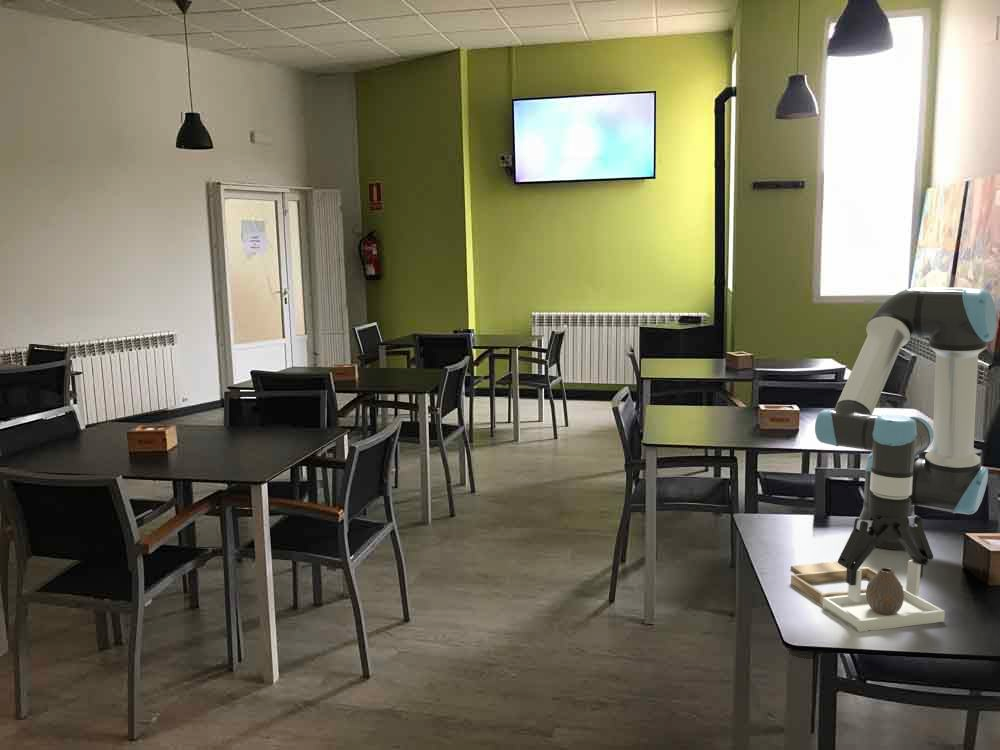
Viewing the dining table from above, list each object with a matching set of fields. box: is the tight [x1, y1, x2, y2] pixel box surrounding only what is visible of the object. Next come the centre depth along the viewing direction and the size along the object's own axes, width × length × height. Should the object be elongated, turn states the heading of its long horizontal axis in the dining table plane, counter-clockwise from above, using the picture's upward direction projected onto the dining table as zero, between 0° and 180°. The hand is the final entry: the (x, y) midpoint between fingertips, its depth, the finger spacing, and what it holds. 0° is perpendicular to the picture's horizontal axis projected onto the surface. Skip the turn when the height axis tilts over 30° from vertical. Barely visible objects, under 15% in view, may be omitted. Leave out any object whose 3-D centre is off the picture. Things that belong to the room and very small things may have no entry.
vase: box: [865, 567, 904, 615], centre depth 167 cm, size 7×7×9 cm
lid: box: [790, 561, 847, 574], centre depth 191 cm, size 14×6×1 cm, turn 104°
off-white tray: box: [822, 588, 946, 633], centre depth 168 cm, size 19×11×2 cm, turn 104°
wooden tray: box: [790, 566, 904, 605], centre depth 181 cm, size 19×11×2 cm, turn 104°
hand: (883, 596), depth 167 cm, fingers open, 13 cm apart
